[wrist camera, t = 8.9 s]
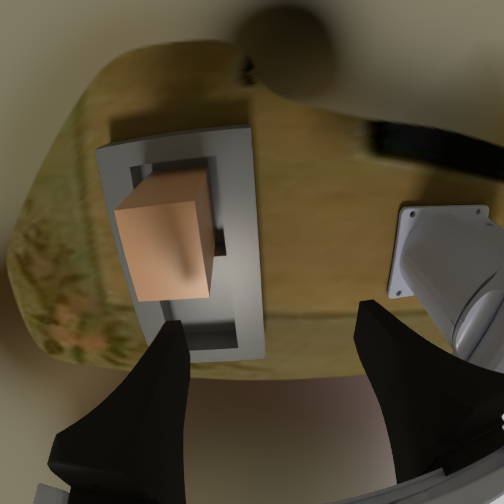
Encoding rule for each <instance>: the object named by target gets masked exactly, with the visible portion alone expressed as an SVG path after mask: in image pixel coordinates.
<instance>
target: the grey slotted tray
mask: <svg viewBox="0 0 504 504" xmlns="http://www.w3.org/2000/svg"><path fill="white" fill-rule="evenodd" d="M95 152H96V158H97V164H98V169H99V174H100V179H101V184H102V189H103V194H104V198H105V203H106V207H107V212H108V216H109V220H110V224H111V228H112V232H113V236H114V240H115V244H116V247H117V251H118V255H119V258H120V262H121V265H122V269H123V272H124V276H125V279H126V282H127V285H128V289H129V292H130V295H131V298H132V301H133V304H134V307H135V310H136V313H137V316H138V319H139V322H140V325H141V328H142V331H143V333H144V336H145V339H146V342H147V344H148V347H149V346H150V344H151V343H152V341H153V340H154V338H155V337H156V335H157V334H158V332H159V330H160V329H161V327H162V326H163V324H164V323H165V321H171V320H181V323H182V326H183V330H184V334H185V338H186V341H187V345H188V349H189V352H190V363H198V362H220V361H236V360H250V359H262V358H265V341H264V324H263V307H262V291H261V274H260V258H259V242H258V227H257V211H256V196H255V181H254V166H253V151H252V136H251V127H250V125H249V124H240V125H228V126H217V127H208V128H199V129H191V130H183V131H175V132H168V133H161V134H155V135H149V136H143V137H137V138H131V139H126V140H121V141H116V142H111V143H108V144H106V145H104V146H102V147H99V148H97V149H95ZM200 165H208V168H209V177H210V186H211V195H212V203H213V212H214V220H215V228H216V243H215V251H214V260H213V269H212V279H211V288H210V297H209V298H194V299H178V300H160V301H140V302H139V301H138V298H137V295H136V291H135V288H134V285H133V281H132V278H131V275H130V271H129V268H128V264H127V260H126V257H125V253H124V249H123V245H122V241H121V238H120V234H119V229H118V225H117V221H116V217H115V213H114V210H115V209H116V208H117V207H118V206H119V205H120V204H121V203H122V202H123V200H124V199H125V198H126V197H127V196H128V195H129V194H130V193H131V192H132V191H133V190H134V189H135V188H136V187H137V186H138V185H139V184H140V183H141V182H142V181H143V180H144V179H145V178H146V177H147V176H148V175H149V174H150V173H151V172H152V171H159V170H166V169H174V168H182V167H191V166H200Z"/></svg>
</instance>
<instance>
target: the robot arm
mask: <svg viewBox="0 0 504 504" xmlns="http://www.w3.org/2000/svg"><path fill="white" fill-rule="evenodd" d="M477 210H478V211H477ZM412 211H413V214H412V215H411V216H410V213H411V212H412ZM476 212H477V213H476ZM488 216H489V207H488V206H487V205H444V206H410V207H403V208H402V209H401V210H400V213H399V221H398V229H397V236H396V243H395V250H394V256H393V262H392V268H391V274H390V280H389V285H388V290H387V295H388V297H389V298H391V299H393V298H400V297H406V296H413V295H415V296H416V298H417V299H418V300H419V302H420V303H421V304H422V306H423V307H424V309H425V310H426V311H427V313H428V314H429V316H430V317H431V318H432V320H433V321H434V323H435V324H436V326H437V327H438V328H439V330H440V331H441V333H442V334H443V336H444V337H445V339H446V340H447V342H448V343H449V345H450V346H451V348H452V349H453V353H452V354H450V353H448V352H446V351H444V350H442V349H441V348H439V347H437V346H435V345H434V344H432V343H430V342H429V341H427V340H426V339H424V338H423V337H421V336H420V335H419V334H417V333H416V332H414V331H413V330H412V329H410V328H409V327H408V326H406V325H405V324H404V323H402V322H401V321H400V320H399V319H397V318H396V317H395V316H394V315H392V314H391V313H390V312H389V311H387V310H386V309H385V308H384V307H382V306H381V305H380V304H379V303H377V302H376V301H375V300H366V301H360V303H359V309H358V315H357V321H356V326H355V332H354V337H353V338H354V341H355V345H356V348H357V352H358V355H359V358H360V360H361V363H362V365H363V367H364V369H365V372H366V374H367V376H368V378H369V380H370V383H371V385H372V387H373V389H374V392H375V394H376V396H377V399H378V401H379V404H380V407H381V410H382V413H383V416H384V420H385V424H386V428H387V432H388V436H389V440H390V444H391V449H392V454H393V460H394V465H395V473H396V480H397V485H394V486H391V487H388V488H385V489H382V490H378V491H375V492H372V493H368V494H364V495H360V496H356V497H353V498H348V499H344V500H340V501H335V502H330V503H325V504H489V503H491V502H492V501H494V500H496V499H497V498H499V497H500V496H502V495H503V494H504V229H503V228H502V227H500V226H499V225H497V224H496V223H495V222H493V221H492V220H490V219H489V218H488ZM398 291H399V292H398ZM397 292H398V293H397ZM189 382H190V352H189V349H188V345H187V341H186V338H185V334H184V330H183V326H182V323H181V320H171V321H165V323H164V324H163V326H162V327H161V329H160V330H159V332H158V334H157V335H156V337H155V338H154V340H153V341H152V343H151V344H150V346H149V347H148V349H147V350H146V352H145V353H144V355H143V356H142V358H141V359H140V360H139V362H138V363H137V364H136V365H135V367H134V368H133V369H132V371H131V372H130V373H129V374H128V376H127V377H126V378H125V379H124V381H123V382H122V383H121V384H120V385H119V386H118V387H117V388H116V389H115V390H114V391H113V392H112V393H111V394H110V395H109V396H108V397H107V398H106V399H105V400H104V401H103V402H102V403H100V404H99V405H98V406H97V407H96V408H95V409H93V410H92V411H91V412H90V413H88V414H87V415H86V416H84V417H83V418H82V419H80V420H79V421H77V422H76V423H74V424H73V425H71V426H69V427H68V428H66V429H65V430H63V431H61V432H60V433H58V434H57V435H56V437H55V439H54V442H53V446H52V449H51V452H50V456H49V460H48V463H47V465H48V466H49V468H50V470H51V471H52V472H53V473H54V474H55V475H57V476H58V477H59V478H61V479H62V480H63V481H64V482H66V483H67V484H68V485H70V486H71V490H70V493H68V492H66V491H64V490H61V489H58V488H54V487H50V486H47V485H44V484H41V483H40V484H38V486H37V490H36V494H35V498H34V503H33V504H186V498H185V485H184V466H183V465H184V464H183V428H184V419H185V411H186V404H187V396H188V389H189Z"/></svg>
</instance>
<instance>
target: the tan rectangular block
mask: <svg viewBox="0 0 504 504" xmlns="http://www.w3.org/2000/svg"><path fill="white" fill-rule="evenodd" d="M114 213H115V217H116V221H117V225H118V229H119V234H120V238H121V241H122V245H123V249H124V253H125V257H126V260H127V264H128V268H129V271H130V275H131V278H132V281H133V285H134V288H135V291H136V295H137V298H138V301H139V302H140V301H160V300H178V299H194V298H209V297H210V288H211V279H212V269H213V260H214V251H215V243H216V228H215V220H214V212H213V203H212V195H211V186H210V177H209V168H208V165H200V166H191V167H182V168H174V169H166V170H159V171H152V172H151V173H150V174H149V175H148V176H147V177H146V178H145V179H144V180H143V181H142V182H141V183H140V184H139V185H138V186H137V187H136V188H135V189H134V190H133V191H132V192H131V193H130V194H129V195H128V196H127V197H126V198H125V199H124V200H123V202H122V203H121V204H120V205H119V206H118V207H117V208H116V209H115V210H114Z"/></svg>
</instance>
